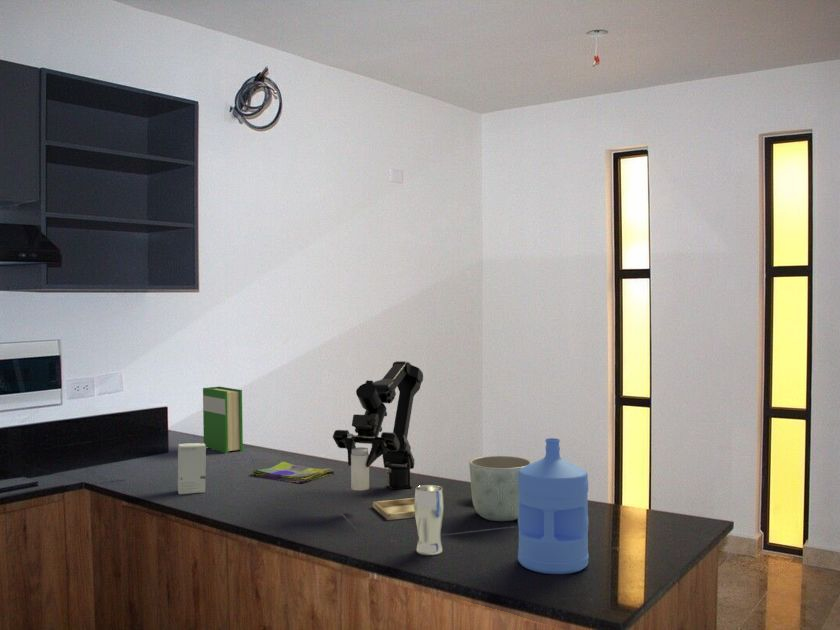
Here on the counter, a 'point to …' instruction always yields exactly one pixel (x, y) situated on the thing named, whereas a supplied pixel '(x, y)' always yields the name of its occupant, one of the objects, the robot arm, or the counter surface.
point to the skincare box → (191, 468)
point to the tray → (396, 508)
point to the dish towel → (292, 473)
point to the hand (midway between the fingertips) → (358, 465)
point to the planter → (496, 486)
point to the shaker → (359, 469)
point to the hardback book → (222, 419)
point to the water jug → (553, 514)
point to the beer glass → (429, 518)
